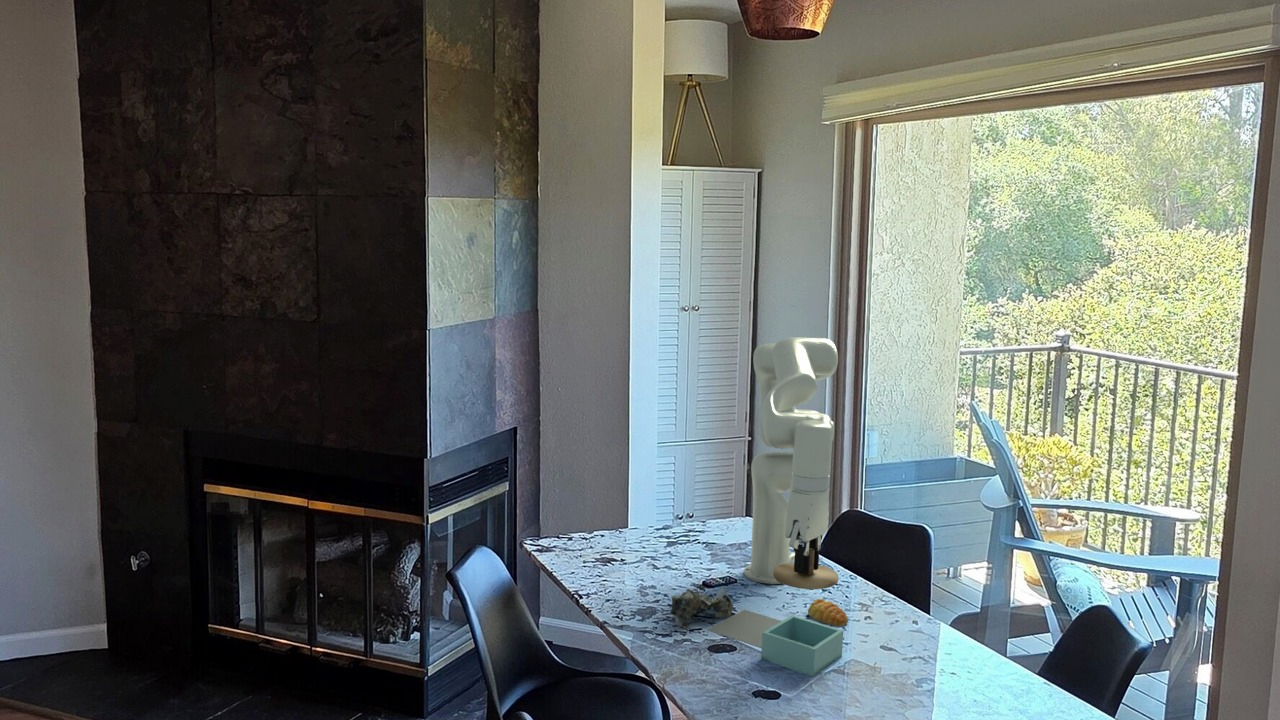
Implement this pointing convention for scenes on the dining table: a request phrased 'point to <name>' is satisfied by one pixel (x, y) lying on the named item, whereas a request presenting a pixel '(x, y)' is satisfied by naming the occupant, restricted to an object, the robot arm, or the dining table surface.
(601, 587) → the dining table surface
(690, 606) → the mottled brown rock
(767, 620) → the mat
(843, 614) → the pastry
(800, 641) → the green square box
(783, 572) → the lid
